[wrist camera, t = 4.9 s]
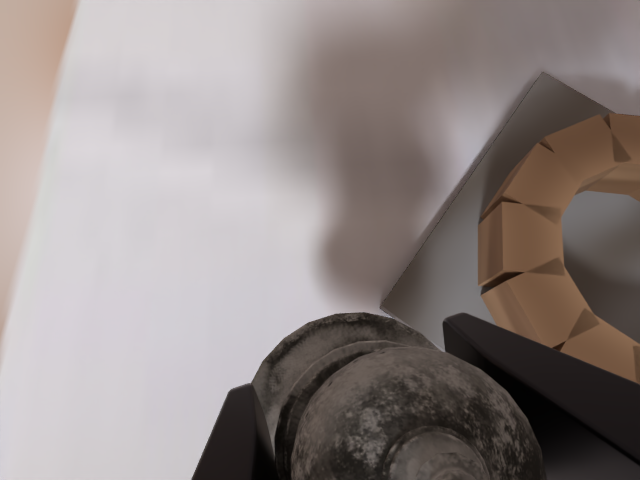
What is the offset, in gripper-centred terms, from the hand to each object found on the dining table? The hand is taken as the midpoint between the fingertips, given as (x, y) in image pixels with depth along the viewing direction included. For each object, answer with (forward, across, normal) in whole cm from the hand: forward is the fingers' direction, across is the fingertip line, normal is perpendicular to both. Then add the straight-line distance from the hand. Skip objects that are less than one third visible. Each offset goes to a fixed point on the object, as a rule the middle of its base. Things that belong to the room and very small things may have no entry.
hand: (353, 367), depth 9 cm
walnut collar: (+10, -15, +9) cm, 20 cm away
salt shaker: (+4, 0, +6) cm, 7 cm away
